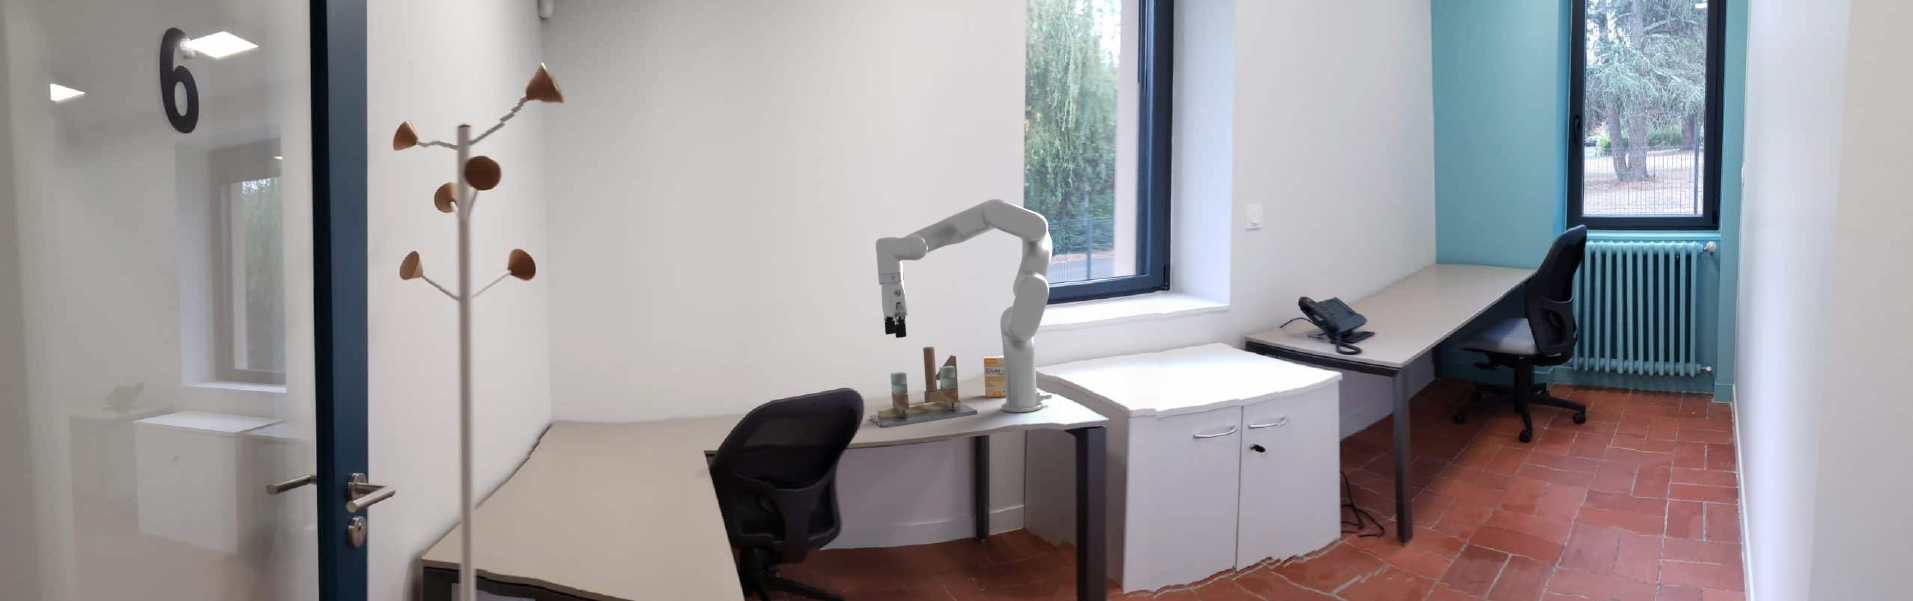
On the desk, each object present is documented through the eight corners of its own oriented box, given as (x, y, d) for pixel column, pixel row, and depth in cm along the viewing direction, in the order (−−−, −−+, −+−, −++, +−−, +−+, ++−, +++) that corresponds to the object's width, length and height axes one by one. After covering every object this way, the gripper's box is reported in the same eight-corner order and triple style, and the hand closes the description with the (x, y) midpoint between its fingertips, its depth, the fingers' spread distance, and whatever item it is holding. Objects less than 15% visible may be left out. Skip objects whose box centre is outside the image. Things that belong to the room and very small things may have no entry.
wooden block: (959, 399, 341) (955, 344, 339) (929, 404, 336) (925, 348, 334) (953, 397, 344) (950, 343, 342) (924, 402, 339) (920, 347, 337)
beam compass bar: (957, 404, 327) (954, 363, 326) (965, 408, 321) (963, 366, 320) (878, 416, 318) (875, 374, 316) (885, 420, 312) (882, 377, 310)
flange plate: (960, 405, 331) (959, 402, 331) (977, 413, 318) (977, 409, 318) (869, 418, 320) (869, 415, 320) (883, 427, 307) (883, 423, 307)
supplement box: (985, 397, 340) (982, 358, 339) (987, 394, 345) (984, 355, 344) (1010, 397, 339) (1008, 357, 338) (1012, 394, 344) (1009, 354, 342)
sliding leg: (904, 411, 320) (901, 371, 319) (911, 414, 314) (908, 374, 313) (891, 412, 319) (888, 372, 318) (898, 416, 313) (895, 375, 312)
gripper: (912, 279, 305) (917, 337, 307) (894, 276, 321) (898, 331, 323) (888, 281, 303) (893, 340, 305) (870, 278, 319) (875, 334, 321)
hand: (895, 335), depth 314 cm, fingers open, 9 cm apart
